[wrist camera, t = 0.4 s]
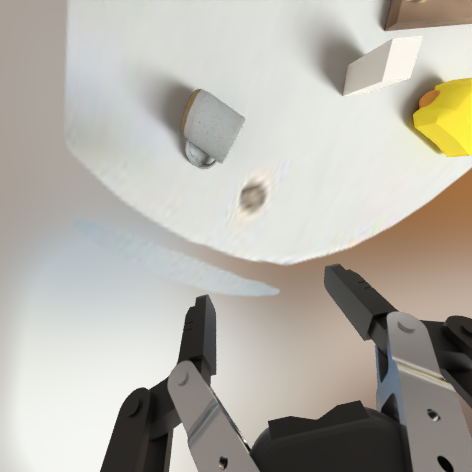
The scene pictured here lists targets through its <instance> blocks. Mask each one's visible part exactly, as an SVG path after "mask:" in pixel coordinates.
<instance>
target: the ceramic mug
mask: <svg viewBox="0 0 472 472" xmlns="http://www.w3.org/2000/svg"><path fill="white" fill-rule="evenodd" d="M244 122H245V118H244V117H243V116H241V115H240V114H238V113H237V112H236V111H234V110H233V109H232V108H230V107H229V106H227V105H226V104H225V103H223V102H221V101H220V100H219V99H218V98H216V97H215V96H214V95H212V94H211V93H209V92H207V91H205V90H202V89H198V90H196V91H195V92H194V93H193V94H192V96H191V97H190V99H189V101H188V103H187V106H186V108H185V111H184V114H183V118H182V123H181V131H182V134H183V136H184V137H185V138H186V139H187V141H186V146H185V152H186V155H187V157H188V159H189V160H190V162H191V163H192V164H193V165H195V166H196V167H198V168H200V169H208V168H211V167H212V166H214V165H215V164H216V163H217V161H218V162H219V163H223V162H224V161H225V159H226V157H227V155H228V153H229V152H230V150H231V148H232V146H233V144H234V142H235V140H236V138H237V136H238V134H239V133H240V131H241V129H242V127H243V124H244ZM190 142H191V143H192V144H194V145H195V146H197V147H198V148H200V149H201V150H203V151H204V152H206V153H207V154H208V155H210V156H211V157H212V158H214V159H215V160H214V161H213V162H212V163H210V164H203V163H201V162H200V161H199V160H197V159H196V158H195V156H193V155H192V154H191V152H190Z"/></svg>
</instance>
